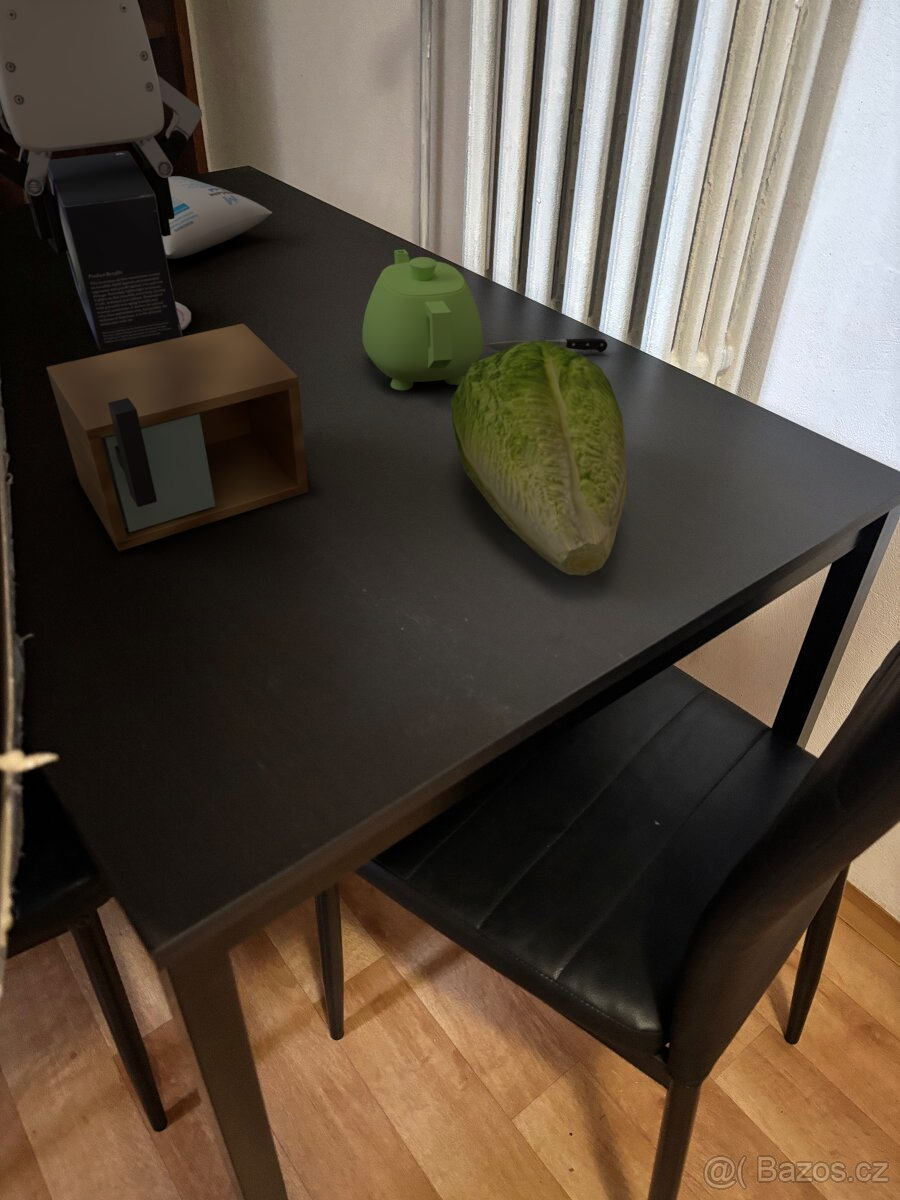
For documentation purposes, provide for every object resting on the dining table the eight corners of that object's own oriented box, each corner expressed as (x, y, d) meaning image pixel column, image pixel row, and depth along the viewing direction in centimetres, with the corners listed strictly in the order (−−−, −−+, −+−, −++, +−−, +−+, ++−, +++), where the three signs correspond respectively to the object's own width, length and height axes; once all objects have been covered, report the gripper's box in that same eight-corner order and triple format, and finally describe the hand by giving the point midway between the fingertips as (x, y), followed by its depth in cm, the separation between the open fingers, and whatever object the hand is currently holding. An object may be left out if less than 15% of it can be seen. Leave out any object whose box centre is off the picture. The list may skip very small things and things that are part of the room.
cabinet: (118, 551, 78) (85, 430, 70) (79, 483, 86) (46, 366, 78) (308, 492, 86) (298, 376, 78) (257, 434, 93) (243, 323, 85)
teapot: (349, 336, 111) (344, 231, 102) (455, 326, 113) (459, 223, 105) (382, 418, 96) (379, 303, 88) (502, 405, 99) (511, 292, 91)
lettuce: (469, 552, 69) (653, 464, 65) (417, 363, 84) (563, 284, 81) (538, 642, 79) (699, 571, 76) (481, 460, 95) (612, 393, 91)
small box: (74, 296, 73) (39, 156, 66) (157, 285, 75) (131, 148, 68) (95, 353, 66) (57, 202, 59) (185, 338, 68) (159, 191, 61)
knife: (483, 358, 107) (484, 342, 106) (483, 355, 108) (484, 339, 106) (605, 356, 109) (608, 340, 107) (604, 353, 109) (606, 337, 108)
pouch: (67, 187, 125) (161, 215, 116) (176, 161, 137) (270, 184, 128) (80, 246, 130) (172, 277, 121) (185, 216, 142) (276, 242, 133)
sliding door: (142, 555, 76) (107, 416, 67) (127, 529, 79) (91, 391, 70) (231, 527, 79) (208, 390, 70) (213, 503, 82) (189, 368, 73)
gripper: (166, -72, 60) (206, 205, 72) (-123, -65, 53) (-27, 242, 65) (206, -59, 56) (241, 236, 68) (-105, -49, 49) (-5, 278, 60)
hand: (109, 236), depth 66 cm, fingers closed on small box, 6 cm apart
